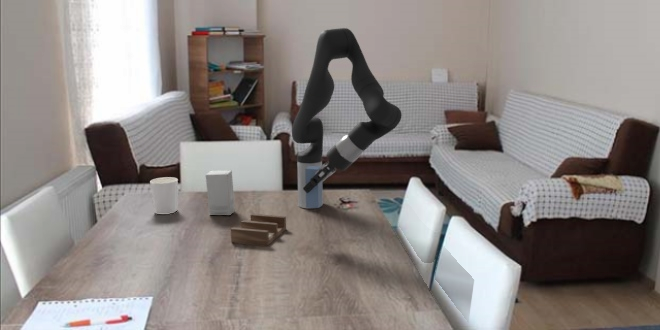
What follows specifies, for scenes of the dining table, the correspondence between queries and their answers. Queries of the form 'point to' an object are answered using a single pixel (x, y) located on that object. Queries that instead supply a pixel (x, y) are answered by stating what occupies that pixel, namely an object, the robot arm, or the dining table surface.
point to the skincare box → (220, 192)
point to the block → (316, 193)
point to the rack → (259, 230)
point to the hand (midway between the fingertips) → (307, 188)
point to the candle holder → (165, 194)
